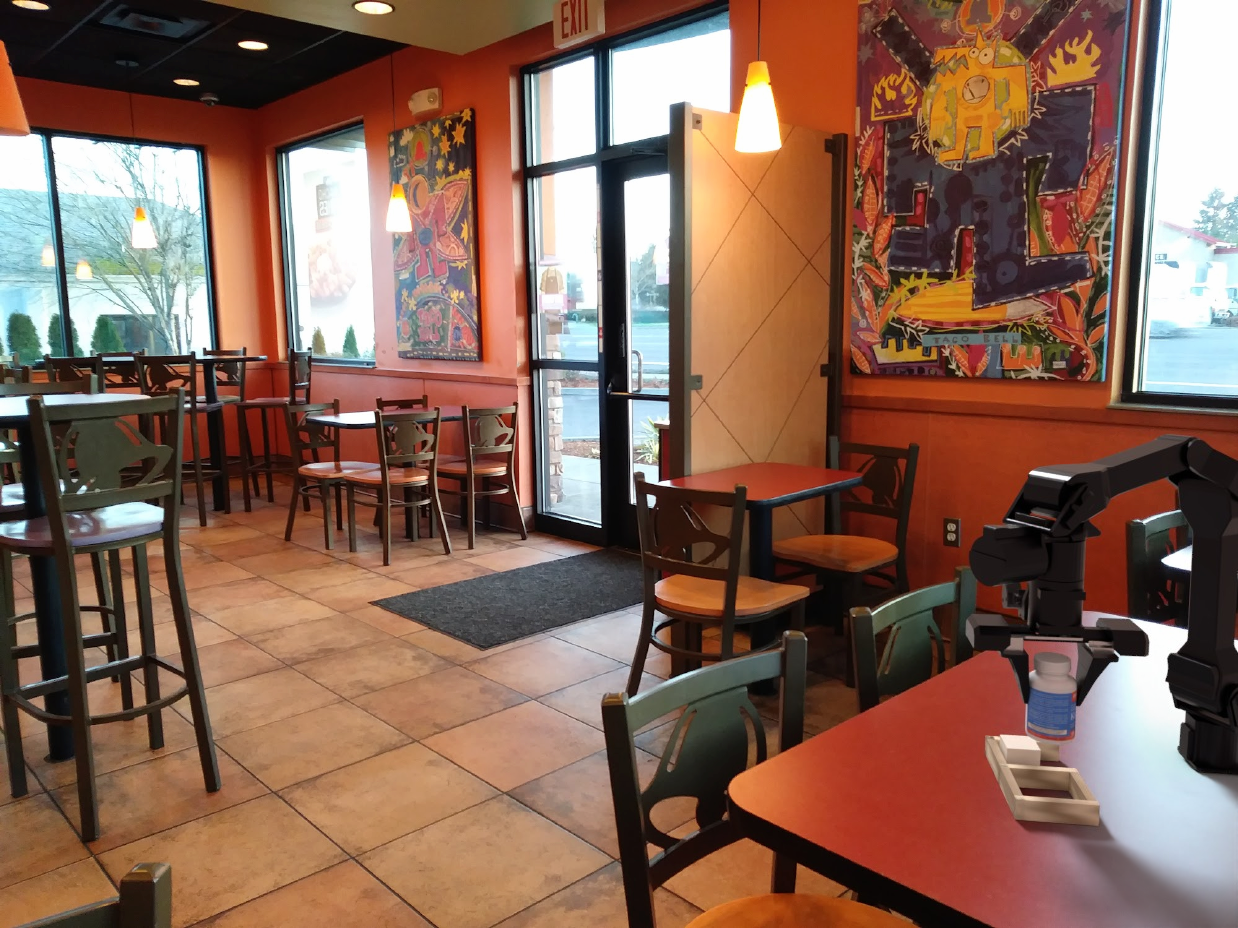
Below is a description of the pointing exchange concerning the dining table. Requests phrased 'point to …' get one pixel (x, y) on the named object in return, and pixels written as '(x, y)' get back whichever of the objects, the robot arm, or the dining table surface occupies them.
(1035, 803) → the caddy
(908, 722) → the dining table surface
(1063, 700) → the pill bottle
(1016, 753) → the cream block
